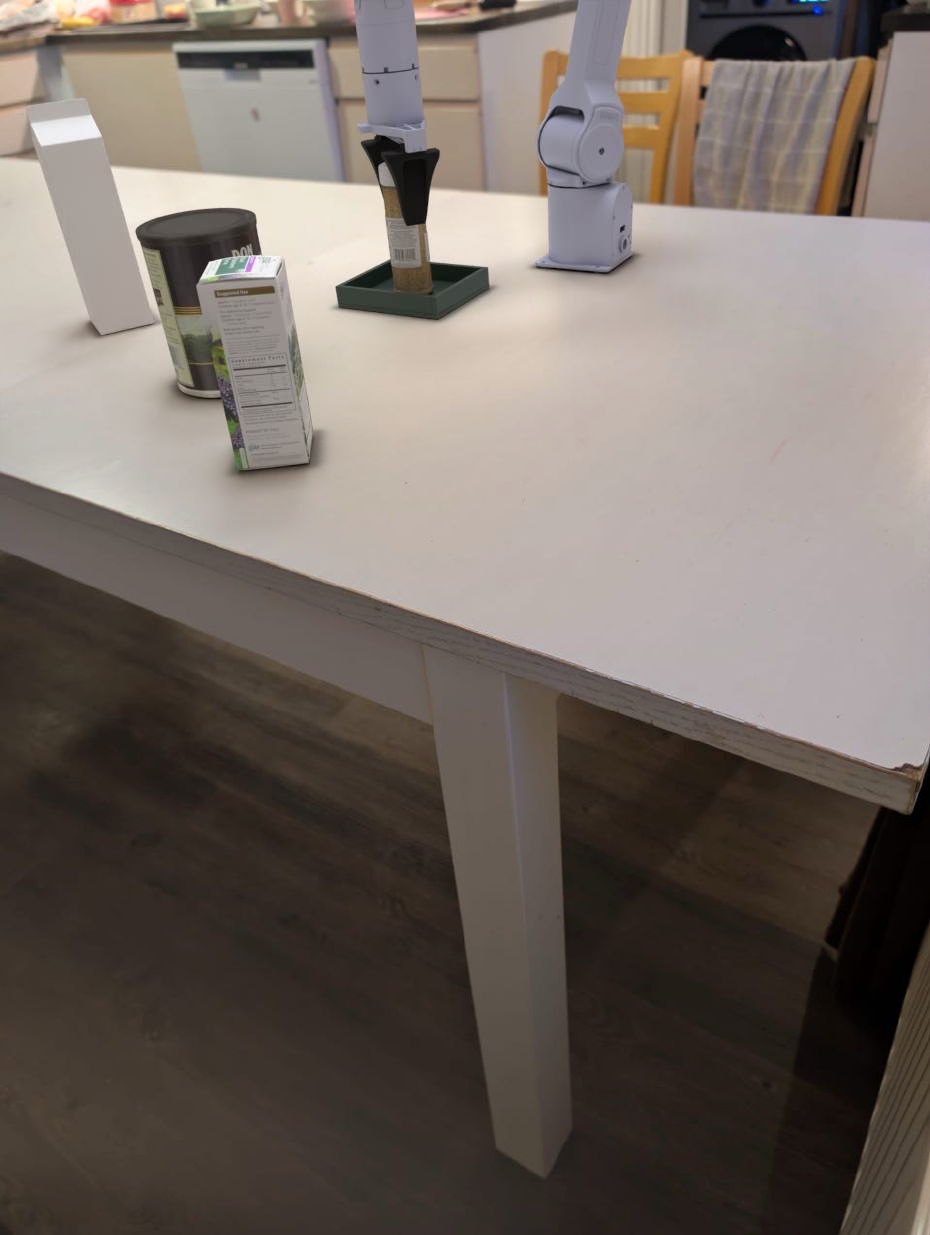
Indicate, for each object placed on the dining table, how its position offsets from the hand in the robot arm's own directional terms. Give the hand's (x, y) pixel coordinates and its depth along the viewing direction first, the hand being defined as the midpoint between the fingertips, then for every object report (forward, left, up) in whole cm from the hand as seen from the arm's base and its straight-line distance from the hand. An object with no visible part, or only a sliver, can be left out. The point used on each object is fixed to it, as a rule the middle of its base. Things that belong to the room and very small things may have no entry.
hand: (406, 216), depth 97 cm
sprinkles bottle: (0, 0, -8) cm, 8 cm away
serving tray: (0, 0, -9) cm, 9 cm away
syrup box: (-11, +37, -9) cm, 40 cm away
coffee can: (+4, +26, -9) cm, 28 cm away
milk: (+28, +18, -9) cm, 34 cm away
